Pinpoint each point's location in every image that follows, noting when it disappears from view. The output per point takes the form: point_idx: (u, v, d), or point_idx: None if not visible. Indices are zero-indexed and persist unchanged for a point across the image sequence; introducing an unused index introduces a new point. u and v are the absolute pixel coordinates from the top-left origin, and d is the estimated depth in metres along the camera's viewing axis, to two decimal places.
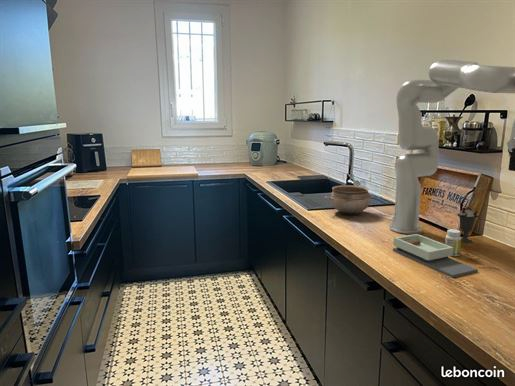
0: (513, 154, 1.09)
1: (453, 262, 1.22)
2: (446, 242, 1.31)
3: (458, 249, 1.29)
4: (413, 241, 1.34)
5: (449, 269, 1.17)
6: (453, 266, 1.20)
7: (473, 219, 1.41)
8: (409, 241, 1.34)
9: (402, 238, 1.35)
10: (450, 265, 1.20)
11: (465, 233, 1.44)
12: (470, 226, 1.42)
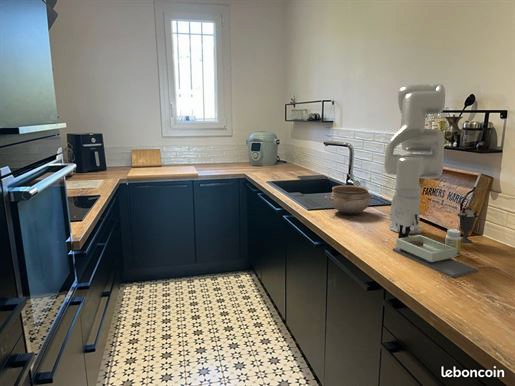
0: (409, 231, 1.35)
1: (453, 262, 1.22)
2: (446, 242, 1.31)
3: (458, 249, 1.29)
4: (416, 242, 1.32)
5: (449, 269, 1.17)
6: (453, 266, 1.20)
7: (473, 219, 1.41)
8: (412, 242, 1.32)
9: (405, 239, 1.34)
10: (450, 265, 1.20)
11: (465, 233, 1.44)
12: (470, 226, 1.42)
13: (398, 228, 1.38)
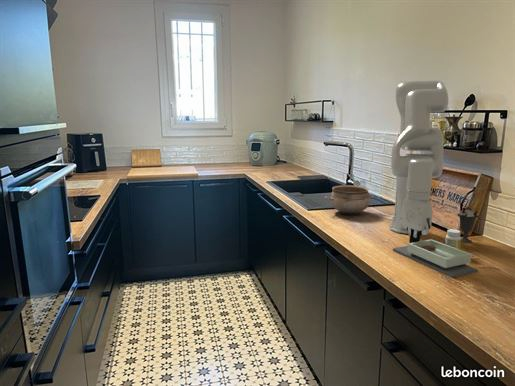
0: (421, 235, 1.30)
1: None
2: (446, 242, 1.31)
3: None
4: (428, 247, 1.28)
5: (449, 269, 1.17)
6: (453, 266, 1.20)
7: (473, 219, 1.41)
8: (424, 247, 1.28)
9: (416, 244, 1.29)
10: None
11: (465, 233, 1.44)
12: (470, 226, 1.42)
13: (409, 232, 1.33)
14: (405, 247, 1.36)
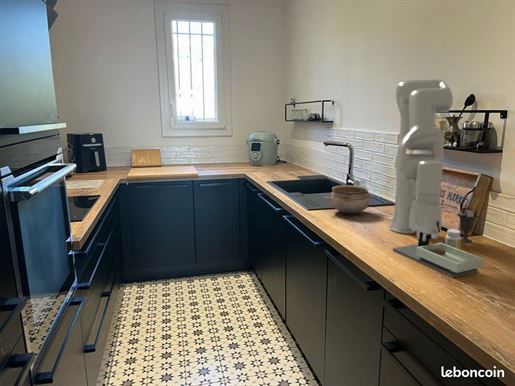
0: (430, 239, 1.27)
1: None
2: (446, 242, 1.31)
3: None
4: (437, 251, 1.24)
5: None
6: None
7: (473, 219, 1.41)
8: (433, 251, 1.24)
9: (425, 247, 1.26)
10: None
11: (465, 233, 1.44)
12: (470, 226, 1.42)
13: (418, 235, 1.29)
14: (405, 247, 1.36)
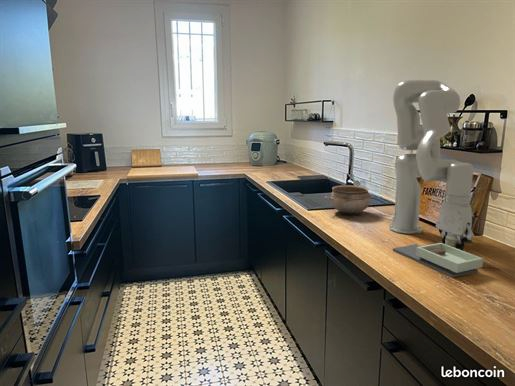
0: (465, 241, 1.27)
1: None
2: (446, 242, 1.31)
3: None
4: (437, 251, 1.24)
5: None
6: None
7: (473, 219, 1.41)
8: (433, 251, 1.24)
9: (425, 247, 1.26)
10: None
11: None
12: None
13: (442, 234, 1.33)
14: (405, 247, 1.36)
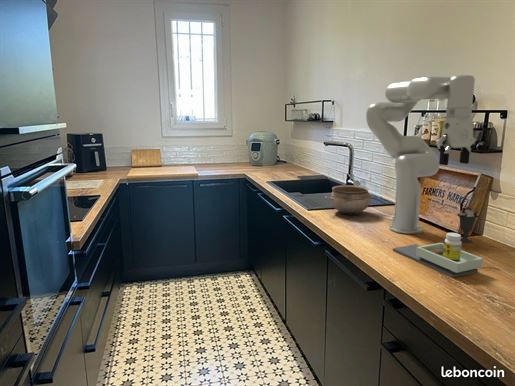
0: None
1: None
2: (456, 249, 1.16)
3: None
4: (437, 251, 1.24)
5: None
6: None
7: (473, 219, 1.41)
8: (433, 251, 1.24)
9: (425, 247, 1.26)
10: None
11: (465, 233, 1.44)
12: (470, 226, 1.42)
13: (446, 150, 1.28)
14: (405, 247, 1.36)
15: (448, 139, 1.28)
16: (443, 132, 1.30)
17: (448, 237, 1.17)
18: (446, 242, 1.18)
